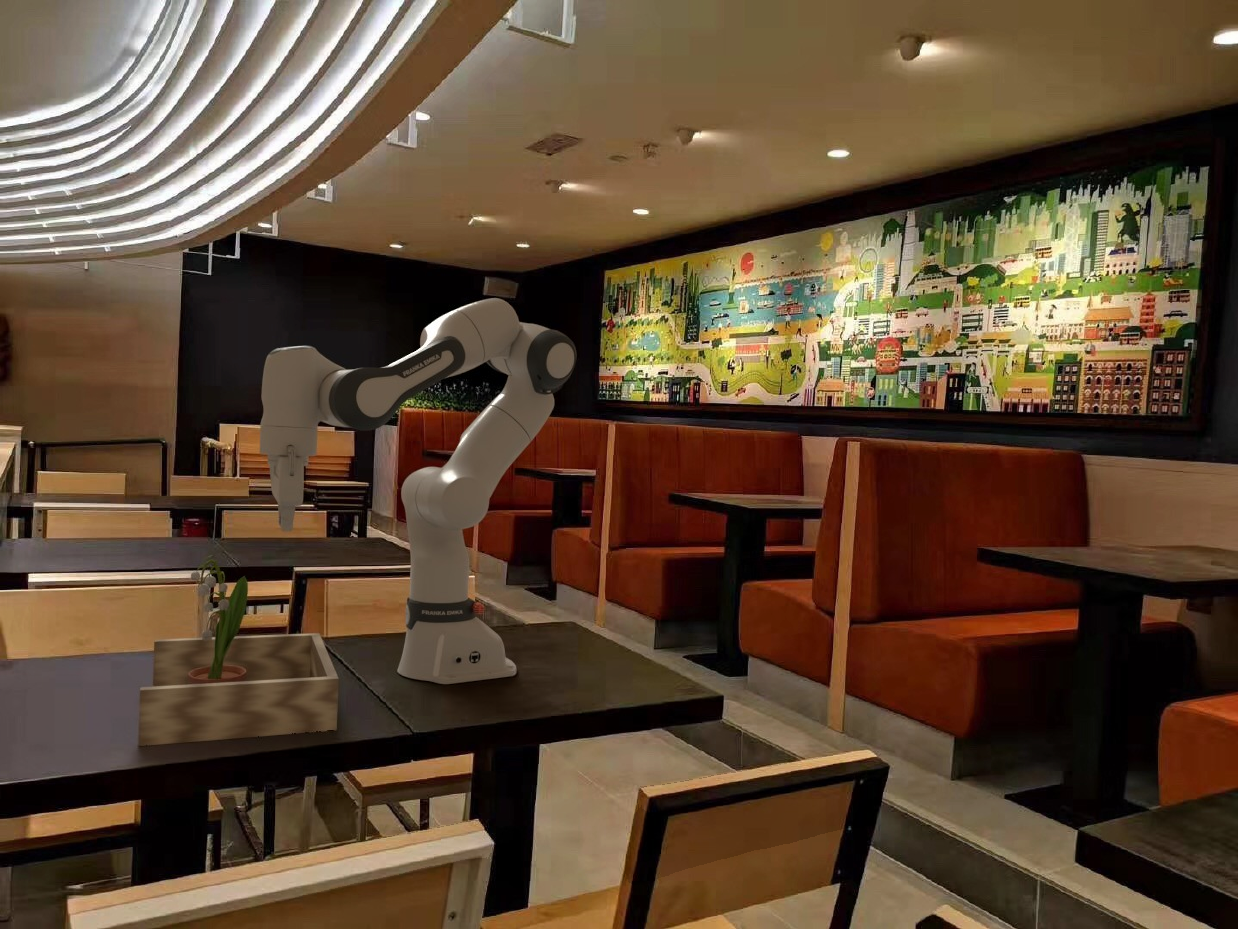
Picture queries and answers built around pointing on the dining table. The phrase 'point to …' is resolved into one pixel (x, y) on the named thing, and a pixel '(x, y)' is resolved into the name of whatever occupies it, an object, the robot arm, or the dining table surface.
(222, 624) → the potted flower
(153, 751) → the dining table surface
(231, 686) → the open wooden planter box
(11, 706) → the dining table surface
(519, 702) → the dining table surface
